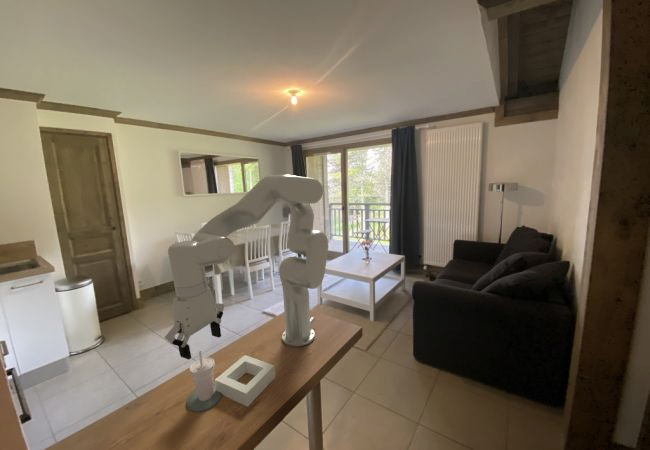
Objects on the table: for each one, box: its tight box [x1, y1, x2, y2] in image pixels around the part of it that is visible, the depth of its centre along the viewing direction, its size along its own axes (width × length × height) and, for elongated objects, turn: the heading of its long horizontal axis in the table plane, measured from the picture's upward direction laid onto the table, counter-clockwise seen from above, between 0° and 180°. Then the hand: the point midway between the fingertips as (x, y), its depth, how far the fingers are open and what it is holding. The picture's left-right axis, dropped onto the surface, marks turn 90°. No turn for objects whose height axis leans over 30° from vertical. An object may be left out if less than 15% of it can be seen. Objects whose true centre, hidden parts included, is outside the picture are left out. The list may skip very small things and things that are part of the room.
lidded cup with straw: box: [189, 350, 216, 401], centre depth 74 cm, size 6×6×14 cm
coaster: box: [186, 383, 223, 413], centre depth 75 cm, size 9×9×1 cm
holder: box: [214, 354, 276, 408], centre depth 79 cm, size 12×12×4 cm
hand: (202, 346), depth 73 cm, fingers open, 9 cm apart
